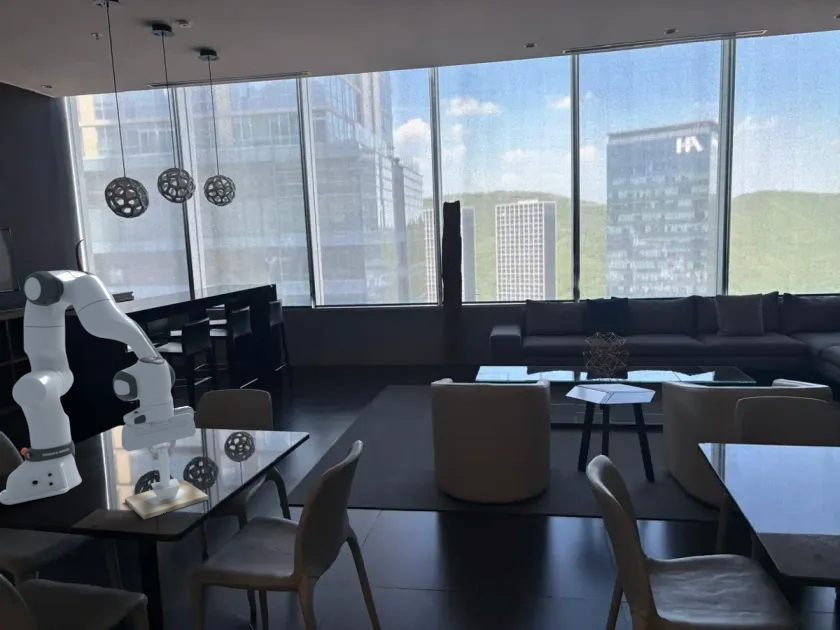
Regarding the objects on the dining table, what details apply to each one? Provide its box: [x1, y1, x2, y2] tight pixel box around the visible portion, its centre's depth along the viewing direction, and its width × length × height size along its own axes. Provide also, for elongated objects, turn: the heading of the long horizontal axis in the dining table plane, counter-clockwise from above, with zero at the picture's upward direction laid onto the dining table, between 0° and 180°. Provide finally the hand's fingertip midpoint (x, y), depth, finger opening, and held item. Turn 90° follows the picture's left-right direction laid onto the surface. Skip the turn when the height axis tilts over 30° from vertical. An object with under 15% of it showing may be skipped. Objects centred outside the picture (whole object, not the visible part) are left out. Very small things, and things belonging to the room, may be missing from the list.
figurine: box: [150, 446, 180, 501], centre depth 175 cm, size 7×9×15 cm
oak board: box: [124, 480, 209, 520], centre depth 176 cm, size 18×18×1 cm
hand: (162, 457), depth 175 cm, fingers open, 3 cm apart
